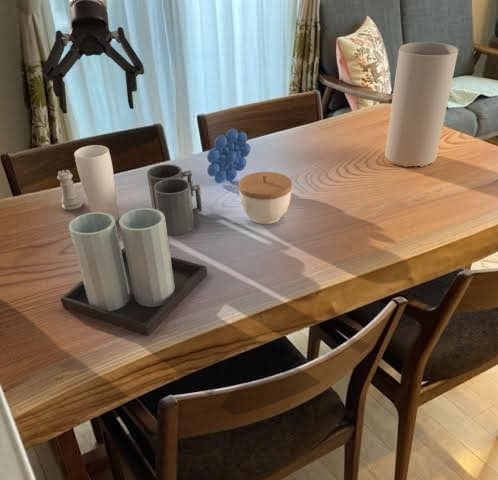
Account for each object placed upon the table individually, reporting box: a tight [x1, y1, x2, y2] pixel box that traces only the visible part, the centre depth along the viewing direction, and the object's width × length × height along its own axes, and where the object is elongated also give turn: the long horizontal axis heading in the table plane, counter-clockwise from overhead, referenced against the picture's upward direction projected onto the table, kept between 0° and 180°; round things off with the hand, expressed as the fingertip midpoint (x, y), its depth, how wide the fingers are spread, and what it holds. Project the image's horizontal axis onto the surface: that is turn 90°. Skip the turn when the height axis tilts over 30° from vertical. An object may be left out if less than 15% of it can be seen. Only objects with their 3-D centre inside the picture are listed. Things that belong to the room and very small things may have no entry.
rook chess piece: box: [56, 169, 83, 212], centre depth 116 cm, size 4×4×8 cm
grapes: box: [206, 128, 251, 184], centre depth 124 cm, size 12×7×12 cm, turn 124°
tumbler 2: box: [118, 207, 175, 307], centre depth 87 cm, size 7×7×15 cm
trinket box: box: [238, 171, 293, 225], centre depth 110 cm, size 11×11×9 cm
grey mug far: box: [146, 164, 195, 210], centre depth 114 cm, size 10×7×9 cm
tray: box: [59, 247, 208, 337], centre depth 93 cm, size 17×18×2 cm
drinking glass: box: [73, 144, 120, 223], centre depth 109 cm, size 7×7×15 cm
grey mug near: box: [153, 178, 203, 236], centre depth 108 cm, size 10×7×9 cm
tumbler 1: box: [68, 212, 131, 311], centre depth 87 cm, size 7×7×15 cm
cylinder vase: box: [384, 41, 459, 168], centre depth 126 cm, size 12×12×25 cm
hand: (97, 108), depth 110 cm, fingers open, 13 cm apart
